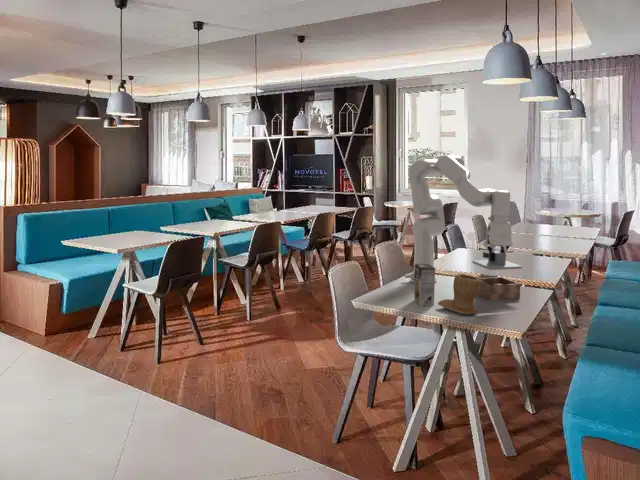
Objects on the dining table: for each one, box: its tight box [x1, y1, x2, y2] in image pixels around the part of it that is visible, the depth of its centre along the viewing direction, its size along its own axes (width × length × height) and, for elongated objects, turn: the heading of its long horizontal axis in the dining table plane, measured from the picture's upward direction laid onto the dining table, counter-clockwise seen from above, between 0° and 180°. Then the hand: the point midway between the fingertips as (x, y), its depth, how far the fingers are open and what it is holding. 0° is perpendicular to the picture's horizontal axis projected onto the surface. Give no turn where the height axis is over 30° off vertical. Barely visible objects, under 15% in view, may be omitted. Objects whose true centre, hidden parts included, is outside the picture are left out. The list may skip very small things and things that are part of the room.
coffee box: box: [413, 264, 436, 307], centre depth 227 cm, size 9×6×16 cm
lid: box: [471, 250, 523, 271], centre depth 235 cm, size 15×15×6 cm
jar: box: [481, 250, 499, 277], centre depth 281 cm, size 9×8×12 cm
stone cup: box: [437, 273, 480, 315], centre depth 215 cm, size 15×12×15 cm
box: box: [477, 276, 521, 301], centre depth 237 cm, size 14×14×7 cm
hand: (496, 260), depth 235 cm, fingers closed on lid, 4 cm apart
